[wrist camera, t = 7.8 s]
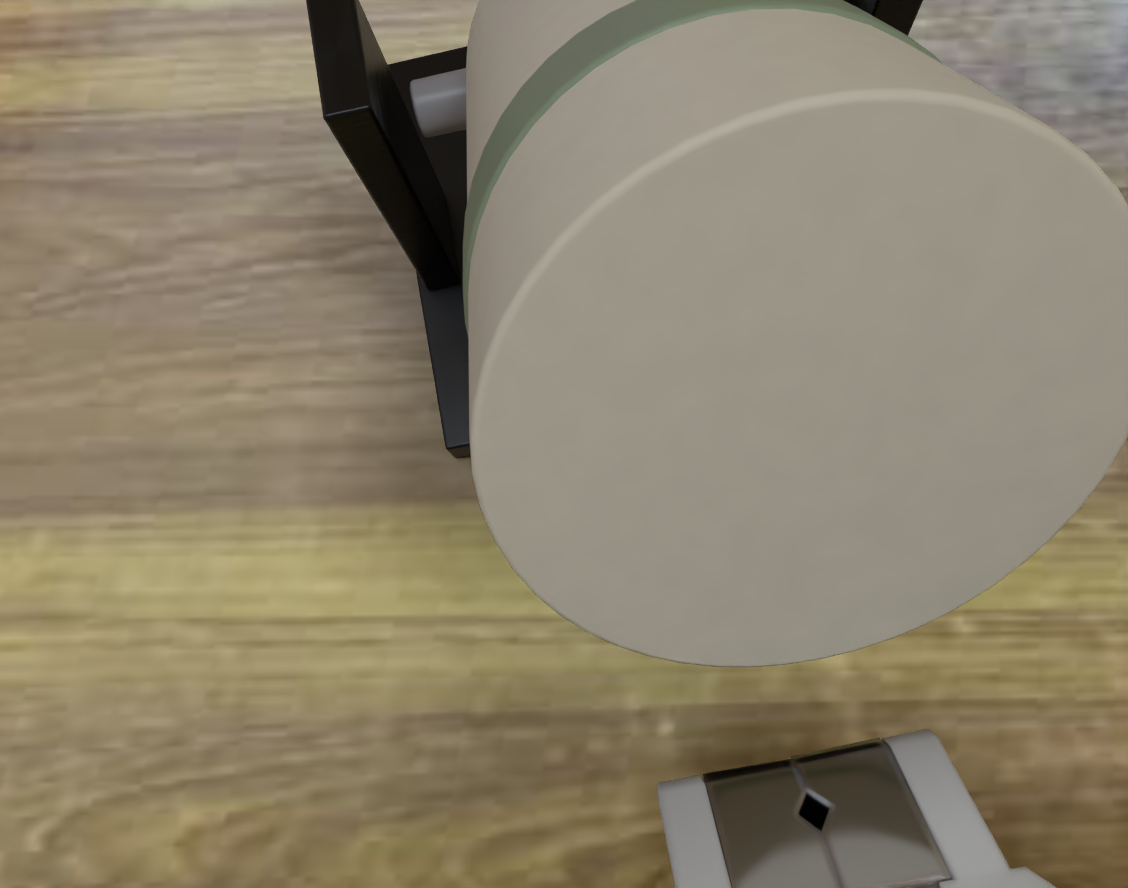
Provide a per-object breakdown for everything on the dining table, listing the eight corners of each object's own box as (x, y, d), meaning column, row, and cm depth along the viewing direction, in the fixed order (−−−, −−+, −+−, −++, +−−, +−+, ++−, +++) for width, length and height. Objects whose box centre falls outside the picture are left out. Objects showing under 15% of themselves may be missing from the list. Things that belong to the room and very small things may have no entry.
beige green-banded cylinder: (1207, 589, 8) (1426, -48, 5) (446, 739, 9) (211, 225, 5) (807, 156, 18) (797, -158, 15) (455, 234, 18) (372, -58, 15)
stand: (924, 518, 20) (1106, 434, 12) (479, 608, 20) (376, 584, 12) (773, 1, 23) (839, -332, 15) (392, 89, 23) (264, -191, 16)
